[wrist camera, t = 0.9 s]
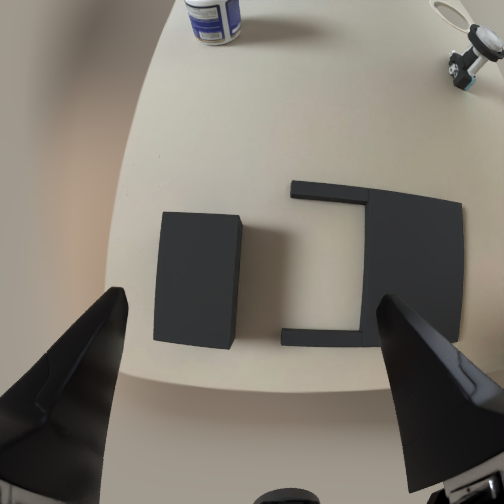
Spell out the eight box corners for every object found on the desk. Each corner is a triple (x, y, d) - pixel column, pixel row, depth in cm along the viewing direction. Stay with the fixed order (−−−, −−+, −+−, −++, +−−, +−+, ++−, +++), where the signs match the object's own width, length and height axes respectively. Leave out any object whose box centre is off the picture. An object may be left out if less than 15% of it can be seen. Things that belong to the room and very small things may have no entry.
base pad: (451, 340, 24) (457, 342, 23) (280, 342, 25) (281, 345, 24) (455, 205, 25) (461, 203, 24) (290, 184, 26) (291, 179, 25)
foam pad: (234, 339, 25) (229, 349, 21) (168, 332, 25) (153, 340, 21) (242, 224, 26) (239, 215, 22) (176, 221, 26) (162, 211, 22)
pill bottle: (226, 14, 29) (217, -43, 19) (250, 34, 28) (247, -29, 18) (187, 32, 29) (169, -26, 19) (209, 53, 28) (193, -10, 18)
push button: (435, 50, 27) (464, 7, 18) (463, 62, 27) (495, 24, 17) (446, 85, 27) (484, 41, 17) (475, 97, 27) (514, 60, 17)
